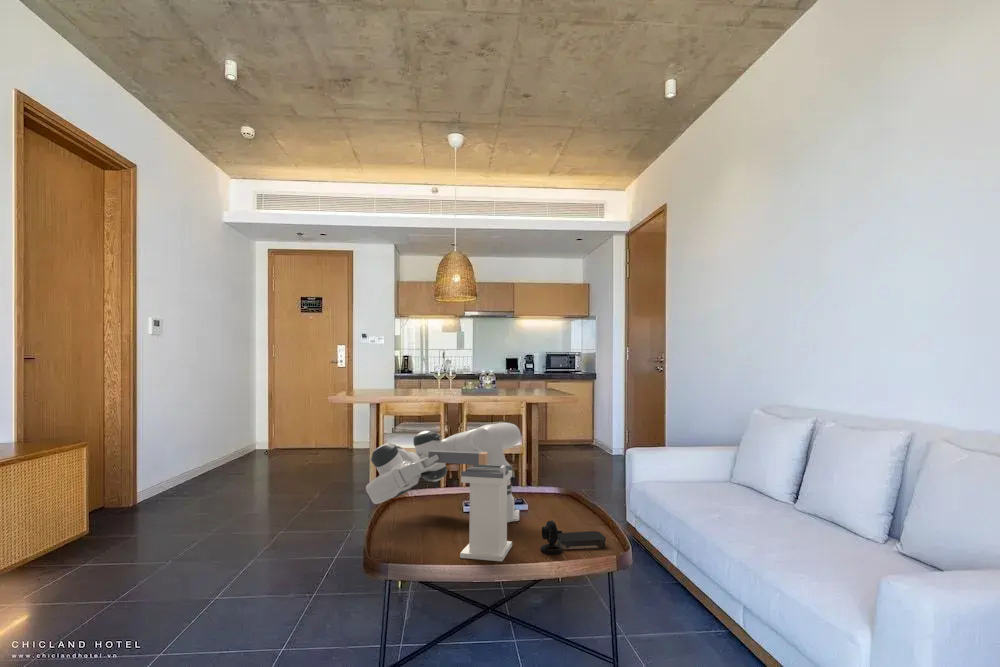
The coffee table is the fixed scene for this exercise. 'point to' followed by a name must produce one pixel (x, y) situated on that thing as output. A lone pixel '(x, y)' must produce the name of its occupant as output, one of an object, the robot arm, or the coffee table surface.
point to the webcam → (551, 538)
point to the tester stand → (487, 512)
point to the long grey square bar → (460, 457)
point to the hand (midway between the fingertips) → (440, 455)
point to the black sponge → (581, 540)
